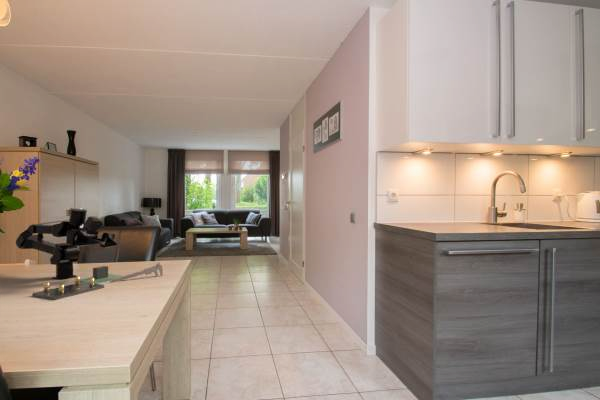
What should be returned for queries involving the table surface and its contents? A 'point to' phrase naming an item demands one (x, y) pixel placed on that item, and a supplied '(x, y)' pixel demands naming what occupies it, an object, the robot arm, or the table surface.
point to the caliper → (145, 271)
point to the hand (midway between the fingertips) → (107, 243)
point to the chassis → (67, 289)
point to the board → (110, 277)
